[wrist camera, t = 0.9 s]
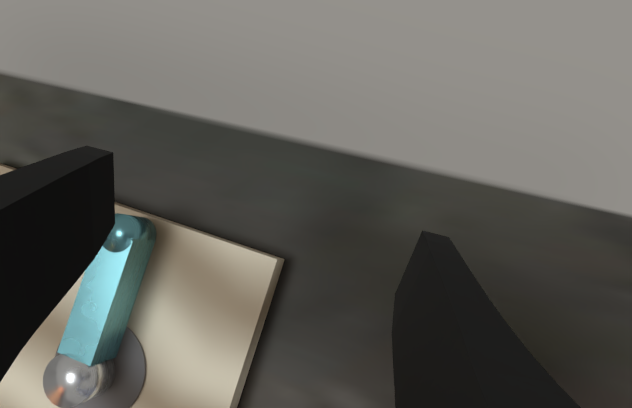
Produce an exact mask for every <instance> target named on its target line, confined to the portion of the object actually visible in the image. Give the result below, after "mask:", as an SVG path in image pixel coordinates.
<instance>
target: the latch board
mask: <svg viewBox="0 0 632 408" xmlns="http://www.w3.org/2000/svg"><path fill="white" fill-rule="evenodd" d="M13 170H16V168H13V167H10V166H7V165H4V164H1V163H0V175H2V174H4V173H7V172H10V171H13ZM116 213H119V214H126V215H133V216H139V217H145V218H147V219H149V220H150V221H152V222H153V224H154V225H155V228H156V232H157V236H156V241H155V243H154V246H153V249H152V252H151V255H150V258H149V261H148V264H147V267H146V270H145V273H144V276H143V279H142V282H141V285H140V288H139V291H138V294H137V297H136V300H135V303H134V306H133V309H132V312H131V315H130V318H129V321H128V324H127V327H126V330H125V333H124V336H123V339H122V342H121V345H120V347H119V350H118V353H117V356H116V358H113V361H114V365H115V376H114V380H113V382H112V384H111V386H110V387H109V389H108V390H107V391H106V392H104V393H103V394H101V395H99V396H96V397H94V398H92V399H90V400H88V401H85V402H83V403H81V404H79V405H77V406H74V407H71V408H237V406H238V403H239V400H240V397H241V394H242V391H243V388H244V385H245V381H246V378H247V375H248V372H249V369H250V366H251V363H252V360H253V357H254V353H255V350H256V347H257V344H258V341H259V338H260V335H261V332H262V329H263V325H264V322H265V319H266V316H267V313H268V310H269V307H270V304H271V301H272V297H273V294H274V291H275V288H276V285H277V282H278V279H279V276H280V273H281V269H282V266H283V263H284V260H285V259H283V258H280V257H277V256H274V255H271V254H268V253H265V252H262V251H259V250H256V249H253V248H250V247H247V246H244V245H241V244H238V243H235V242H232V241H229V240H226V239H223V238H220V237H217V236H214V235H211V234H209V233H206V232H203V231H200V230H197V229H194V228H191V227H188V226H185V225H182V224H179V223H176V222H173V221H170V220H167V219H164V218H161V217H158V216H155V215H152V214H149V213H146V212H143V211H140V210H137V209H134V208H132V207H129V206H126V205H123V204H120V203H117V202H115V214H116ZM84 273H85V271H84ZM84 273H83V274H82V275H81V276H80V278H79V279H78V280H77V281H76V283H75V284H74V285H73V286H72V288H71V289H70V290H69V291H68V292H67V294H66V295H65V296H64V297H63V299H62V300H61V301H60V302H59V303H58V305H57V306H56V307H55V308H54V310H53V311H52V312H51V313H50V315H49V316H48V317H47V318H46V319H45V321H44V322H43V323H42V324H41V326H40V327H39V328H38V329H37V330H36V332H35V333H34V334H33V335H32V337H31V338H30V339H29V341H28V342H27V343H26V345H25V346H24V347H23V349H22V350H21V352H20V353H19V354H18V356H17V358H16V359H15V361H14V362H13V364H12V365H11V367H10V368H9V370H8V371H7V373H6V374H5V376H4V377H3V379H2V380H1V382H0V408H60V407H58V406H56V405H54V404H53V403H52V402H51V401H50V400H49V399H48V398H47V396H46V394H45V392H44V388H43V375H44V371H45V369H46V367H47V365H48V363H49V362H50V361H51V360H52V359H53V358H54V357H56V356H58V355H60V353H58V352H57V351H58V348H59V345H60V343H61V340H62V337H63V334H64V331H65V328H66V325H67V322H68V319H69V316H70V313H71V310H72V308H73V305H74V302H75V299H76V296H77V293H78V290H79V287H80V284H81V281H82V278H83V276H84Z"/></svg>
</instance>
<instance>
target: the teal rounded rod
mask: <svg viewBox="0 0 632 408" xmlns="http://www.w3.org/2000/svg"><path fill="white" fill-rule="evenodd" d="M156 236H157V232H156V228H155V225H154V224H153V222H152V221H150V220H149V219H147V218H145V217H139V216H133V215H126V214H119V213H116V214H115V225H114V227H113V229H112V230H111V232H110V234H109V236H108V237H107V239H106V241H105V243H104V244H103V246H102V247H101V249H100V251H99V252H98V254H97V256H96V257H95V259H94V260H93V261H92V263H91V264H90V265H89V266H88V268H87V269H86V270H85V273H84V276H83V278H82V281H81V284H80V287H79V290H78V293H77V296H76V299H75V302H74V305H73V308H72V310H71V313H70V316H69V319H68V322H67V325H66V328H65V331H64V334H63V337H62V340H61V343H60V345H59V348H58V351H57V352H58V353H60V355H58V356H56V357H54V358H53V359H52V360H51V361H50V362H49V363H48V365H47V367H46V369H45V371H44V375H43V388H44V392H45V394H46V396H47V398H48V399H49V400H50V401H51V402H52V403H53V404H54V405H56V406H58V407H60V408H71V407H74V406H77V405H79V404H81V403H83V402H85V401H88V400H90V399H92V398H94V397H96V396H99V395H101V394H103V393H104V392H106V391H107V390H108V389H109V387H110V386H111V384H112V382H113V380H114V376H115V365H114V361H113V358H116V356H117V353H118V350H119V347H120V345H121V342H122V339H123V336H124V333H125V330H126V327H127V324H128V321H129V318H130V315H131V312H132V309H133V306H134V303H135V300H136V297H137V294H138V291H139V288H140V285H141V282H142V279H143V276H144V273H145V270H146V267H147V264H148V261H149V258H150V255H151V252H152V249H153V246H154V243H155V241H156Z"/></svg>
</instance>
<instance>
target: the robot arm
mask: <svg viewBox="0 0 632 408" xmlns="http://www.w3.org/2000/svg"><path fill="white" fill-rule="evenodd" d="M114 225H115V200H114V167H113V152H109V151H105V150H101V149H97V148H93V147H89V146H85V147H81V148H77V149H74V150H70V151H67V152H64V153H61V154H59V155H56V156H53V157H50V158H47V159H44V160H41V161H39V162H36V163H33V164H30V165H27V166H24V167H22V168H19V169H16V170H13V171H10V172H7V173H4V174H2V175H0V382H1V380H2V379H3V377H4V376H5V374H6V373H7V371H8V370H9V368H10V367H11V365H12V364H13V362H14V361H15V359H16V358H17V356H18V354H19V353H20V352H21V350H22V349H23V347H24V346H25V345H26V343H27V342H28V341H29V339H30V338H31V337H32V335H33V334H34V333H35V332H36V330H37V329H38V328H39V327H40V326H41V324H42V323H43V322H44V321H45V319H46V318H47V317H48V316H49V315H50V313H51V312H52V311H53V310H54V308H55V307H56V306H57V305H58V303H59V302H60V301H61V300H62V299H63V297H64V296H65V295H66V294H67V292H68V291H69V290H70V289H71V288H72V286H73V285H74V284H75V283H76V281H77V280H78V279H79V278H80V276H81V275H82V274H83V273H84V271H85V270H86V269H87V268H88V266H89V265H90V264H91V263H92V261H93V260H94V259H95V257H96V256H97V254H98V252H99V251H100V249H101V247H102V246H103V244H104V243H105V241H106V239H107V237H108V236H109V234H110V232H111V230H112V229H113V227H114ZM392 346H393V368H394V386H395V406H396V408H581V407H580V406H578V405H577V404H576V403H575V402H574V401H573V400H572V398H571V397H570V396H569V395H568V394H567V393H566V392H565V391H564V390H563V389H562V388H561V387H560V386H559V385H558V384H557V383H556V382H555V380H554V379H553V378H552V377H551V376H550V375H549V374H548V373H547V372H546V370H545V369H544V368H543V367H542V366H541V365H540V364H539V363H538V361H537V360H536V359H535V358H534V357H533V356H532V355H531V353H530V352H529V351H528V350H527V349H526V347H525V346H524V345H523V344H522V342H521V341H520V340H519V338H518V337H517V336H516V335H515V333H514V332H513V331H512V329H511V328H510V327H509V326H508V324H507V323H506V322H505V320H504V319H503V318H502V316H501V315H500V313H499V312H498V311H497V309H496V308H495V307H494V305H493V304H492V302H491V301H490V299H489V298H488V296H487V295H486V294H485V292H484V291H483V289H482V288H481V286H480V285H479V283H478V282H477V280H476V279H475V277H474V275H473V274H472V272H471V271H470V269H469V268H468V266H467V265H466V263H465V262H464V260H463V258H462V257H461V255H460V254H459V252H458V251H457V249H456V247H455V246H454V244H453V243H452V241H451V240H450V239H449V237H446V236H442V235H438V234H434V233H430V232H426V231H422V233H421V235H420V238H419V240H418V242H417V245H416V247H415V249H414V252H413V254H412V256H411V258H410V261H409V263H408V265H407V268H406V270H405V272H404V275H403V277H402V279H401V282H400V284H399V286H398V289H397V291H396V293H395V301H394V312H393V326H392Z"/></svg>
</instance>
